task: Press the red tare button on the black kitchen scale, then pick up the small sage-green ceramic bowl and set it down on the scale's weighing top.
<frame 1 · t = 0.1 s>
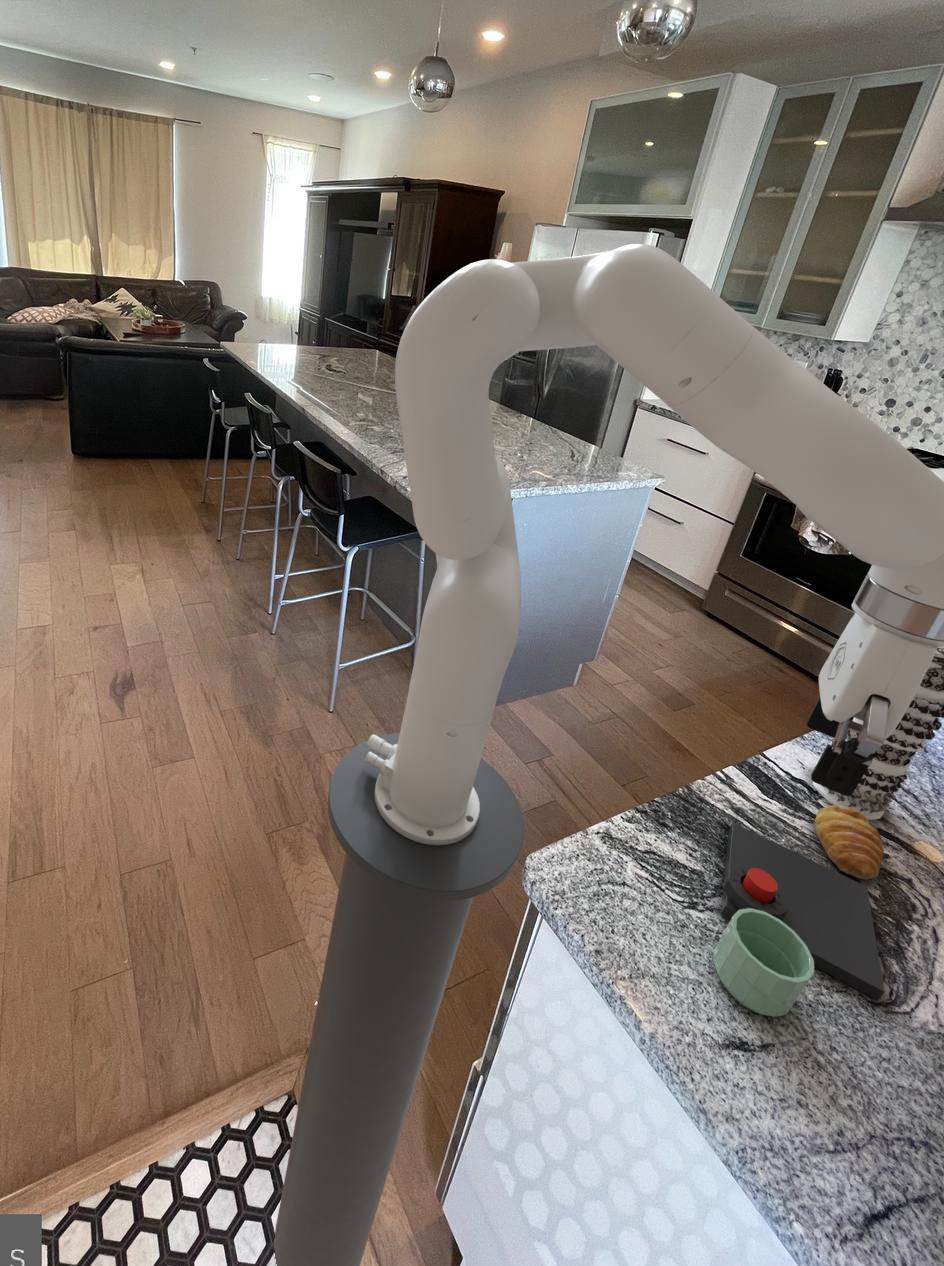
hand: (826, 758, 62), 20 cm above the counter, tool pointing down, fingers open, 9 cm apart
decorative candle: (846, 796, 87), on the counter
scale: (793, 904, 69), on the counter
pastry: (845, 850, 78), on the counter
bowl: (749, 980, 60), on the counter
tare button: (760, 885, 67), point 4 cm above the counter, slide at 0.1 cm
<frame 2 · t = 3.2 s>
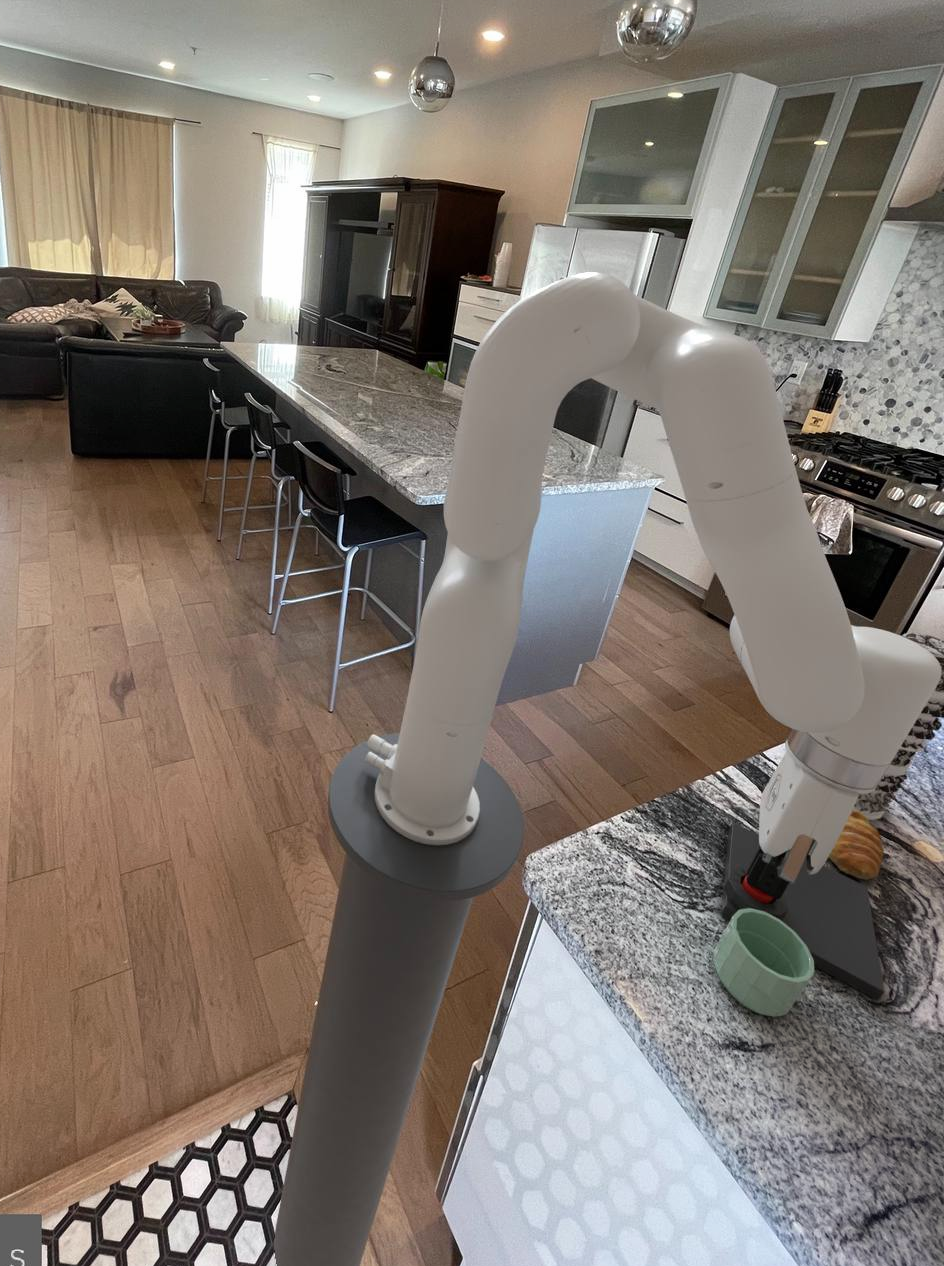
hand: (762, 885, 67), 4 cm above the counter, tool pointing down, fingers closed
tare button: (756, 891, 67), point 3 cm above the counter, slide at -0.8 cm, touching gripper
everything else where it was.
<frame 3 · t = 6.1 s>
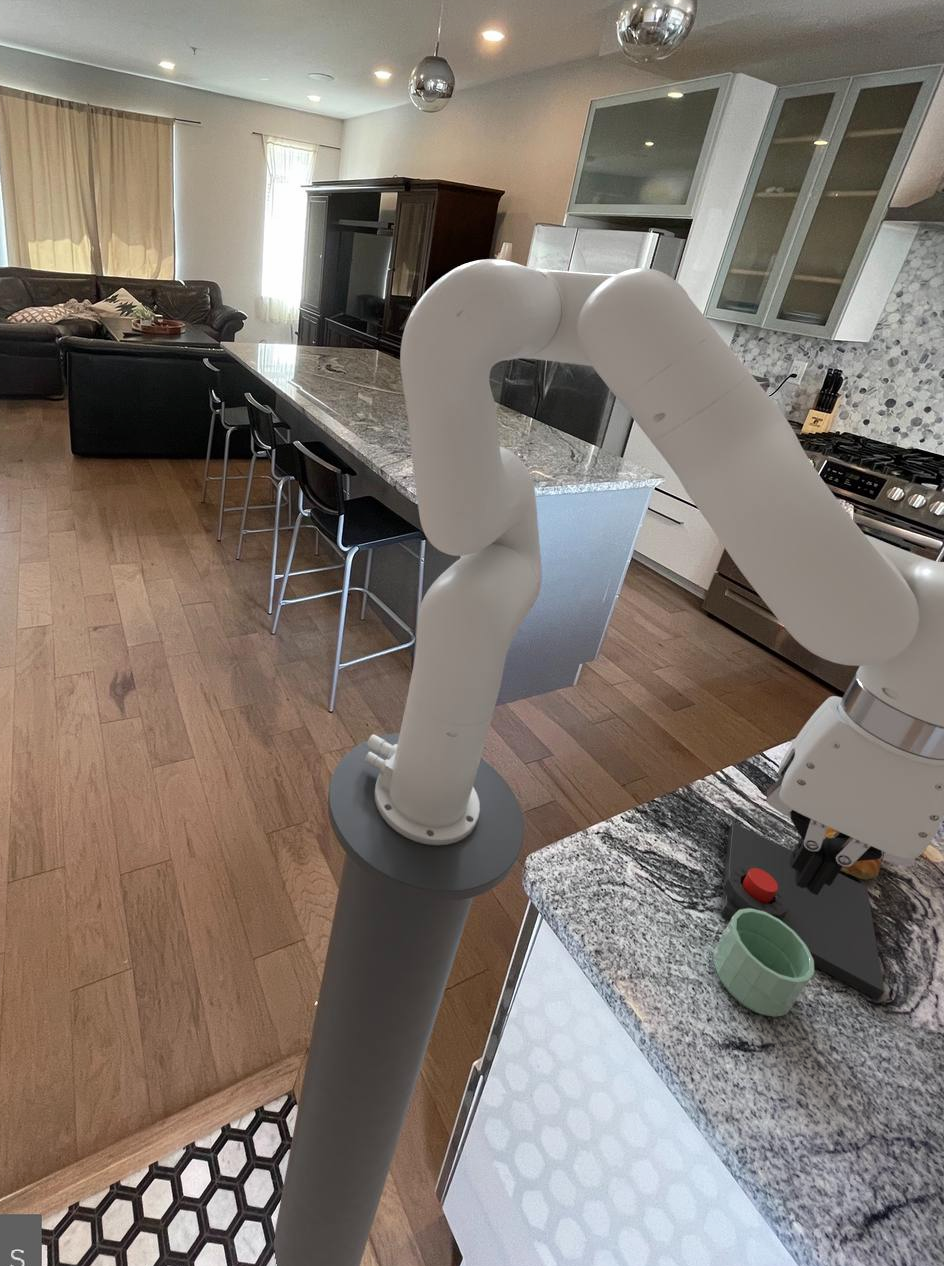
hand: (805, 878, 56), 13 cm above the counter, tool pointing down, fingers closed
tare button: (760, 885, 67), point 4 cm above the counter, slide at 0.1 cm
everything else where it was.
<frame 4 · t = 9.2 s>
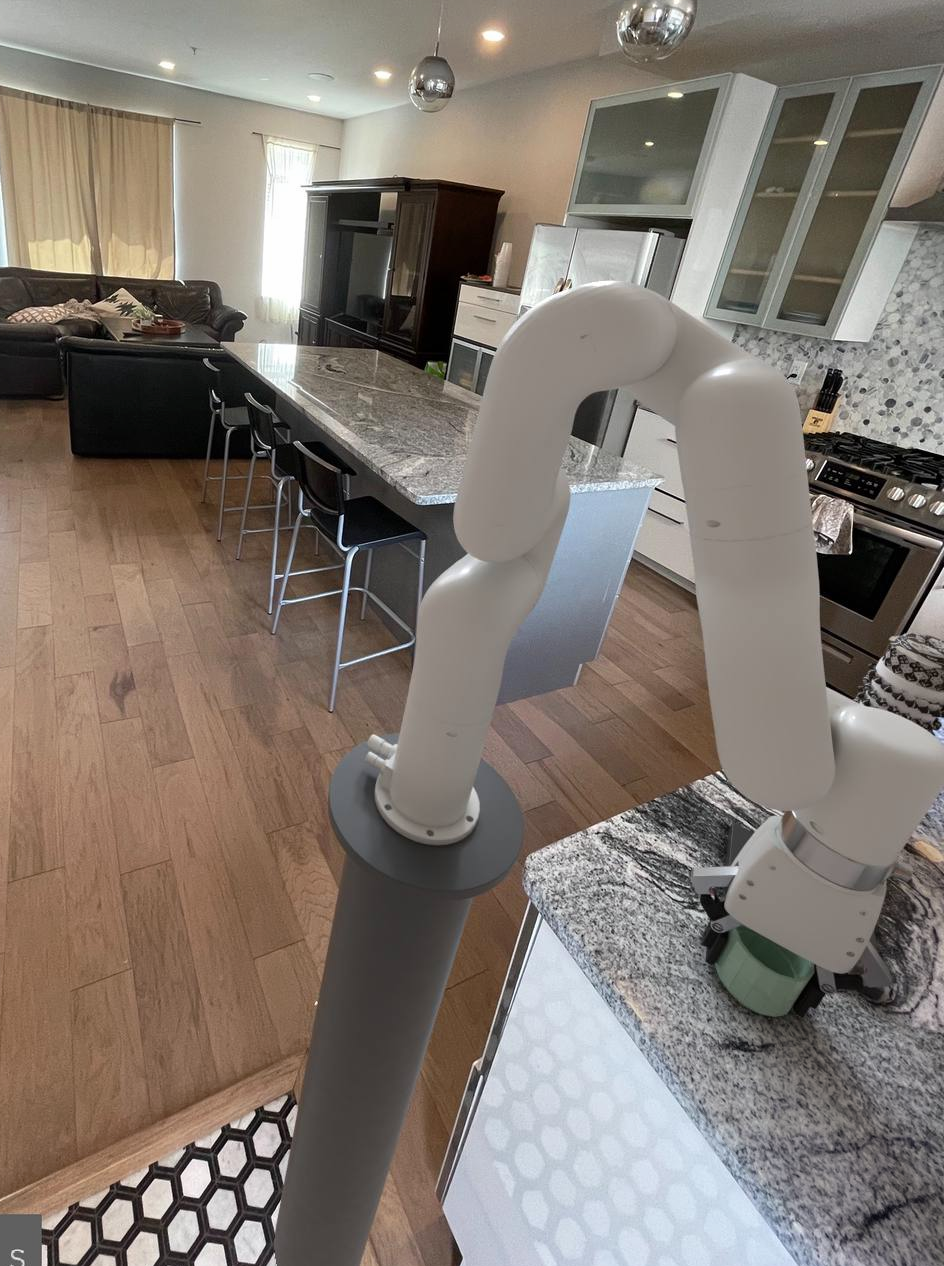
hand: (752, 975, 60), 1 cm above the counter, tool pointing down, fingers closed on bowl, 6 cm apart
bowl: (749, 980, 60), on the counter, touching gripper
everything else where it was.
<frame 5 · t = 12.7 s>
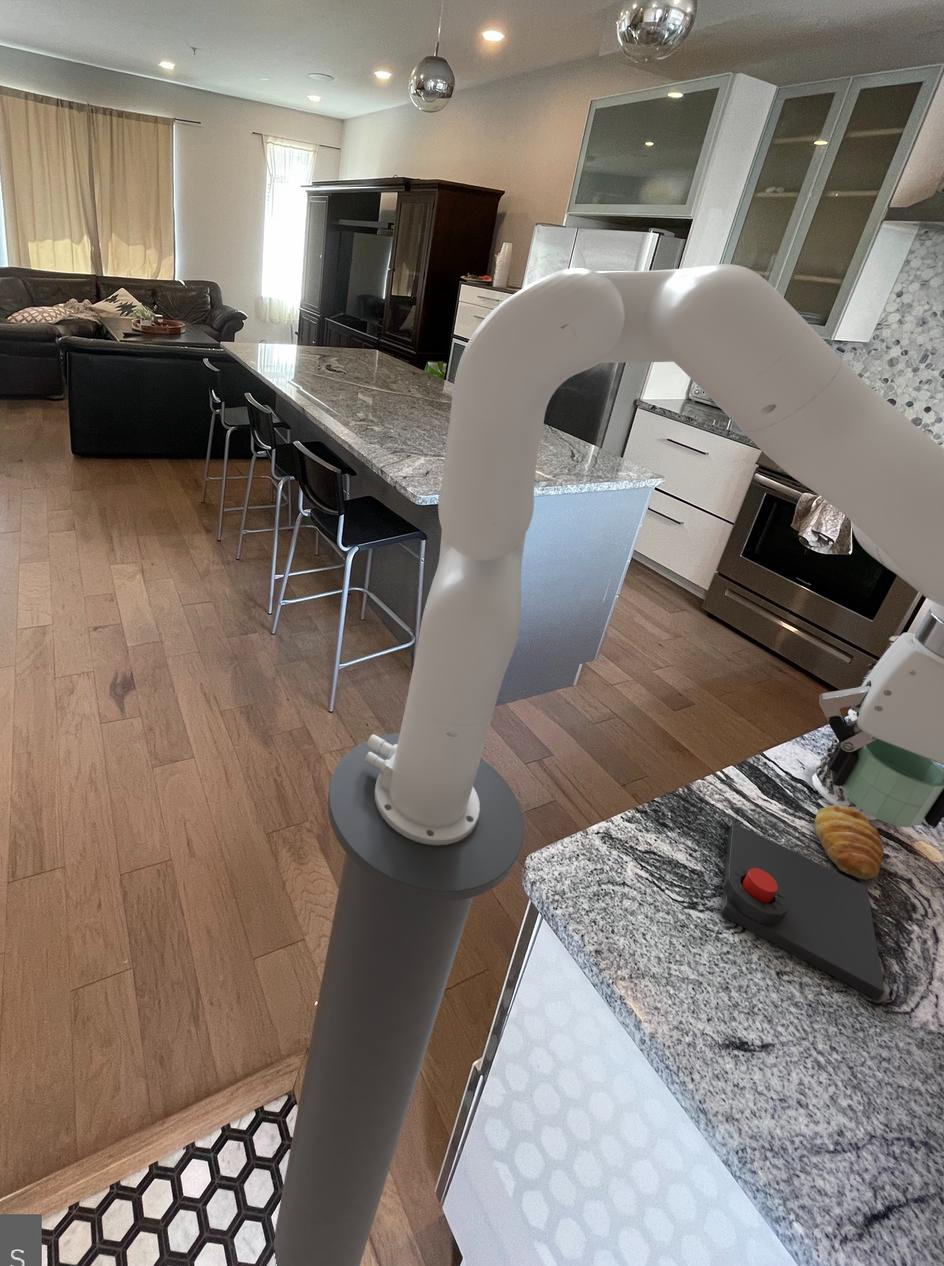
hand: (881, 795, 62), 17 cm above the counter, tool pointing down, fingers closed on bowl, 6 cm apart
bowl: (877, 801, 62), point 16 cm above the counter, touching gripper
everything else where it was.
when the fingers open (2 cm above the counter, at t = 16.5 s): bowl stays where it is, resting on scale.
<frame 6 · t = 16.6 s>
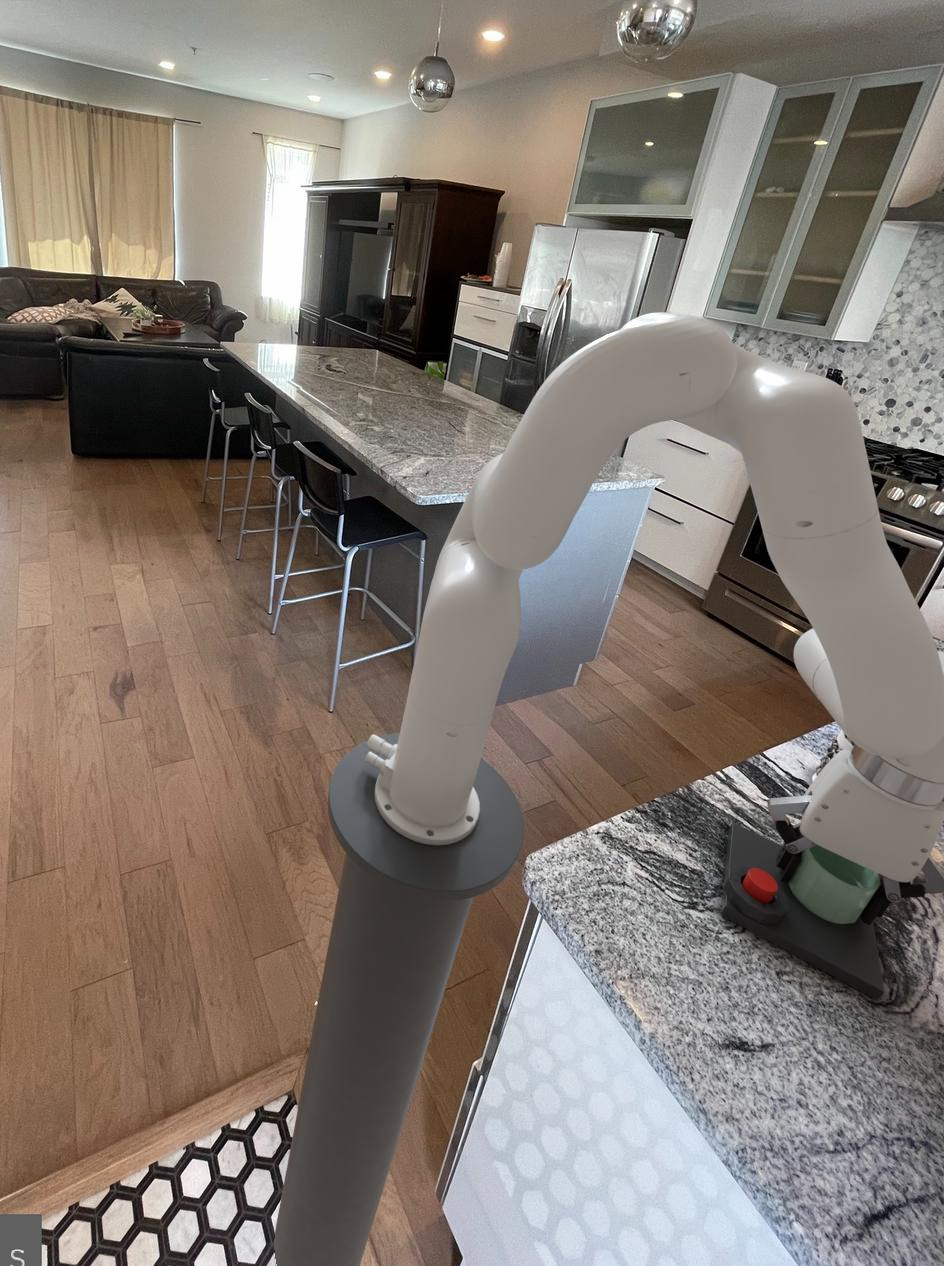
hand: (822, 892, 69), 2 cm above the counter, tool pointing down, fingers open, 7 cm apart
bowl: (819, 896, 69), point 1 cm above the counter, touching scale
everything else where it was.
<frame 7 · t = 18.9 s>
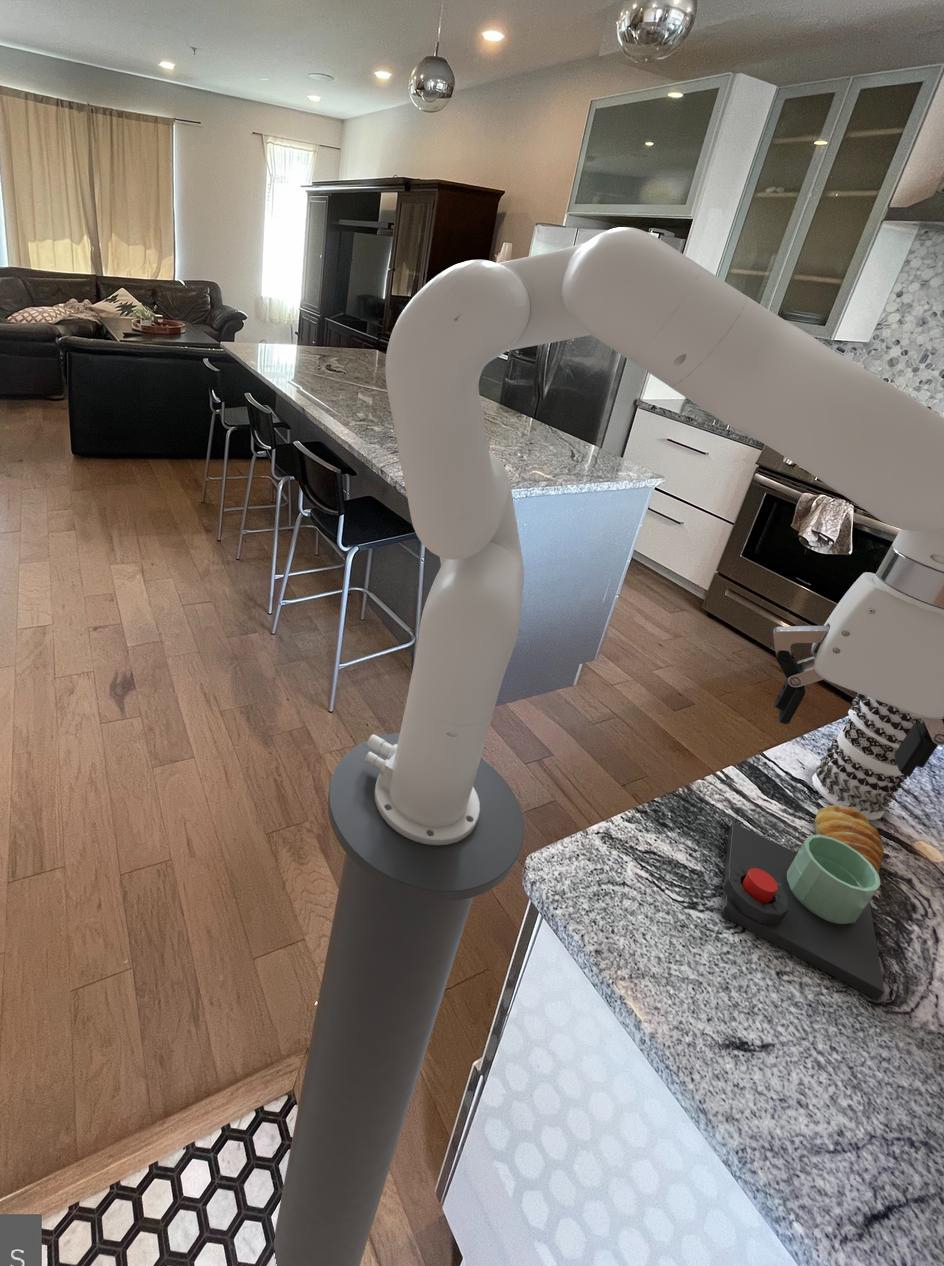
hand: (839, 740, 59), 23 cm above the counter, tool pointing down, fingers open, 9 cm apart
nothing on the counter moved.
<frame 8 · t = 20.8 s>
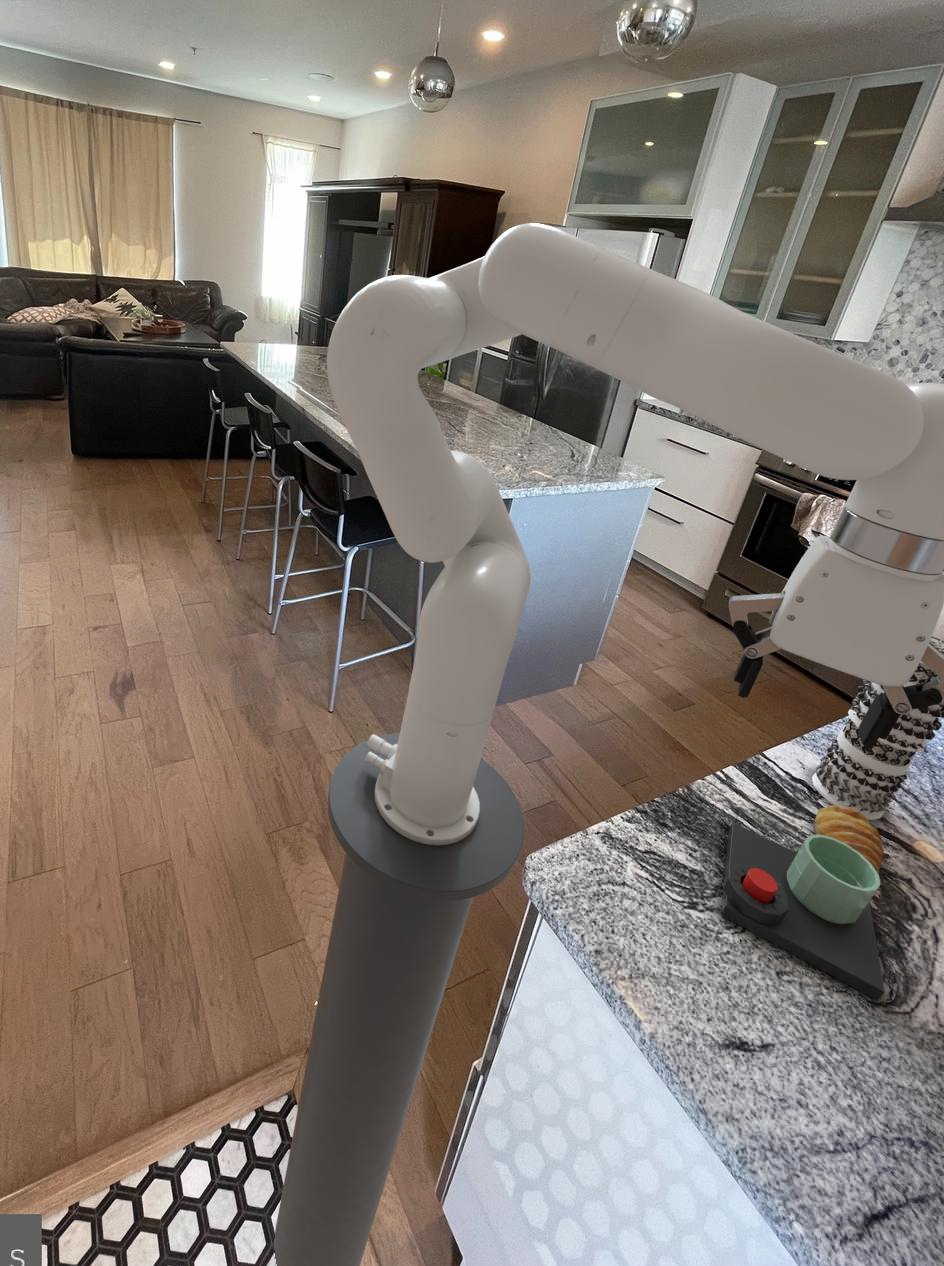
hand: (801, 713, 57), 26 cm above the counter, tool pointing down, fingers open, 9 cm apart
nothing on the counter moved.
at the end: tare button pushed in 0.9 cm at the most during the clip, back to where it started at the end; bowl inside the target area on the scale (1.4 cm from its centre), point 1.4 cm above the scale's base; bowl tilted 0° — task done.
